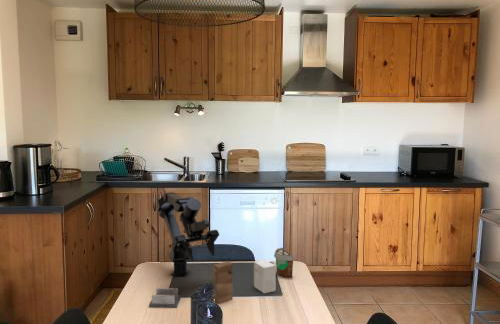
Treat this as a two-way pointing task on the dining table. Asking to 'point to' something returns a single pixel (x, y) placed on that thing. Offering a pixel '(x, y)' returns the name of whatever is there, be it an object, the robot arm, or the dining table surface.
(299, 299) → the dining table surface
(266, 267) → the small box
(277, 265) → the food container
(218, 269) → the brown wooden block
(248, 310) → the dining table surface
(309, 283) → the dining table surface
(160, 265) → the dining table surface
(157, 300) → the hinge base
